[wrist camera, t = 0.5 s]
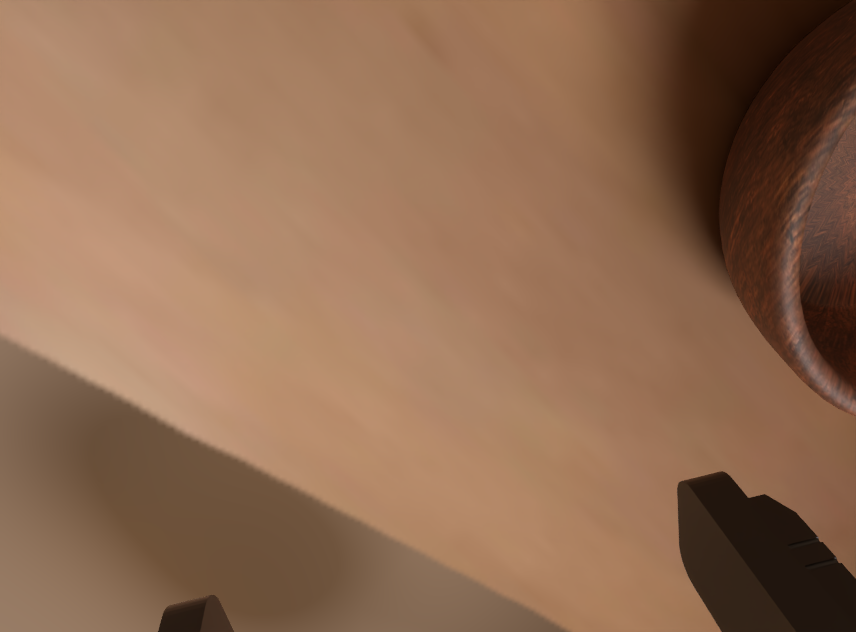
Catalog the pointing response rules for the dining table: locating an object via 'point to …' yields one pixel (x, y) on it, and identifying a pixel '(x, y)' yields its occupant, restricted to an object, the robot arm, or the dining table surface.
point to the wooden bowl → (800, 210)
